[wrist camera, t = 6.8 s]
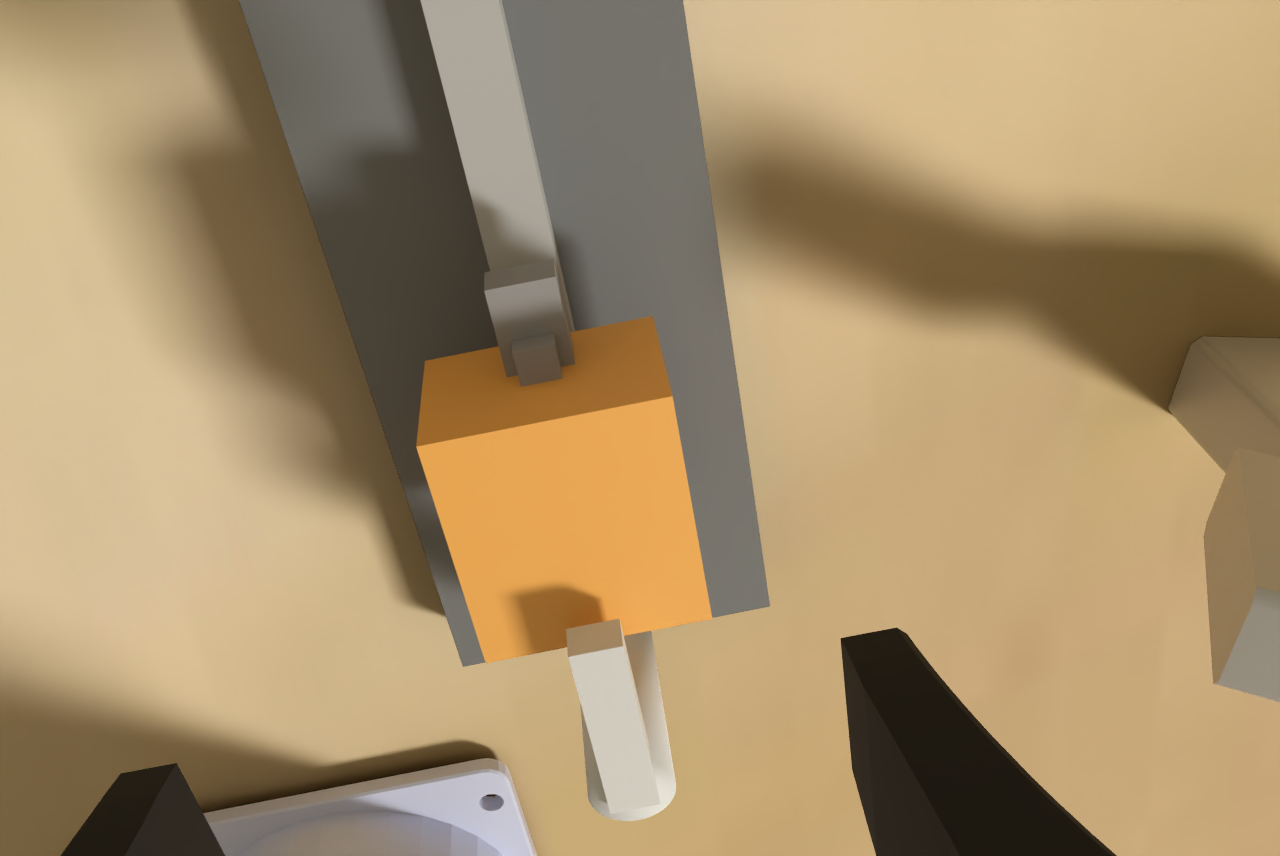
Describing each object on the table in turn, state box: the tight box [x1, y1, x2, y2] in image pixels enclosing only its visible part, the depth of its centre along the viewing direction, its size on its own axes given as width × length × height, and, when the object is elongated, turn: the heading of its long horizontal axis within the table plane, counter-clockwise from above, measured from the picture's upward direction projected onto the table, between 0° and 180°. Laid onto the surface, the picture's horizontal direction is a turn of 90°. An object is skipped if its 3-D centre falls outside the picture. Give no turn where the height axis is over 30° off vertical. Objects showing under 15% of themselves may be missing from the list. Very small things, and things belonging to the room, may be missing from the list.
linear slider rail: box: [239, 0, 770, 821], centre depth 18 cm, size 15×6×6 cm, turn 9°
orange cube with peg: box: [416, 259, 712, 663], centre depth 18 cm, size 5×4×2 cm, turn 9°
